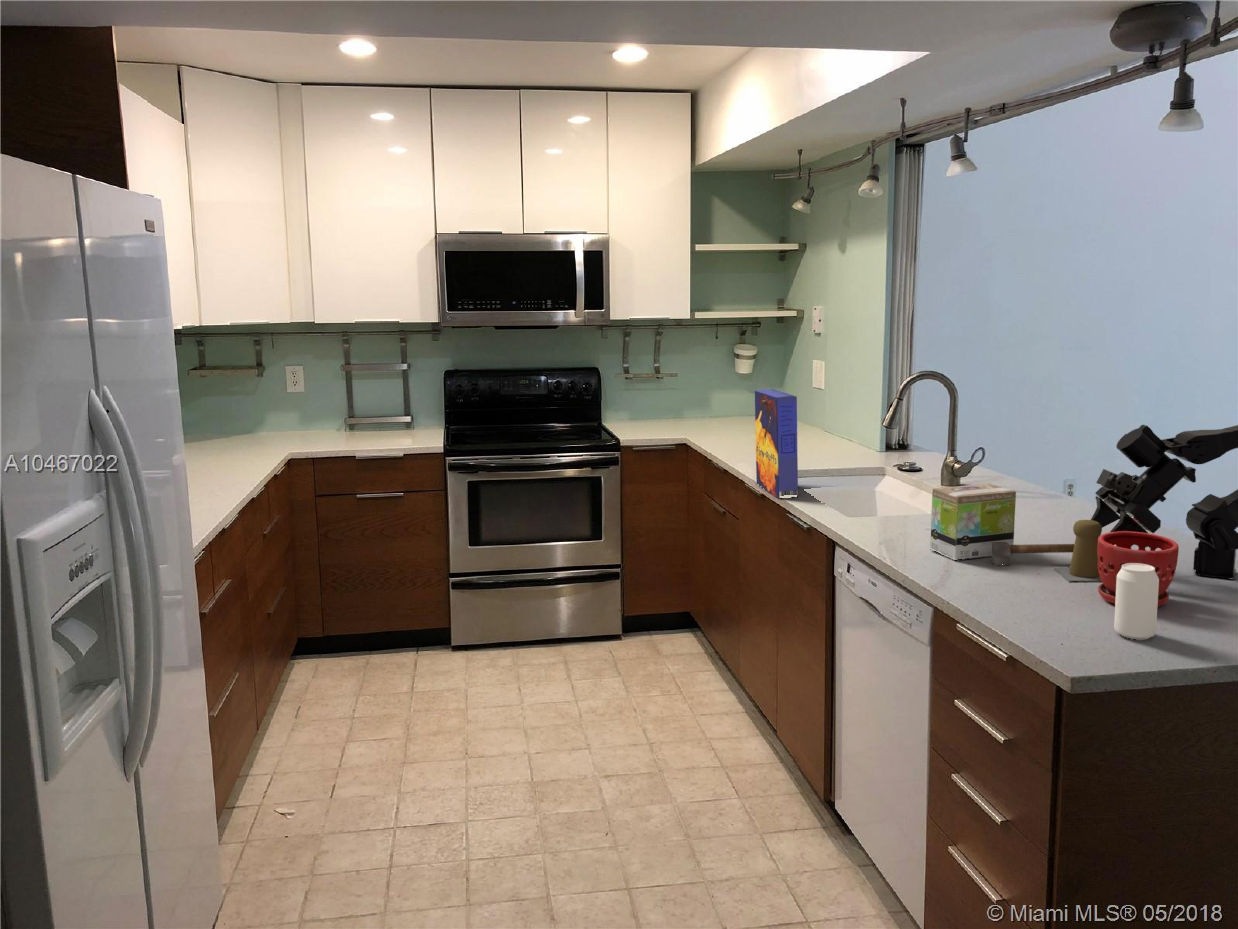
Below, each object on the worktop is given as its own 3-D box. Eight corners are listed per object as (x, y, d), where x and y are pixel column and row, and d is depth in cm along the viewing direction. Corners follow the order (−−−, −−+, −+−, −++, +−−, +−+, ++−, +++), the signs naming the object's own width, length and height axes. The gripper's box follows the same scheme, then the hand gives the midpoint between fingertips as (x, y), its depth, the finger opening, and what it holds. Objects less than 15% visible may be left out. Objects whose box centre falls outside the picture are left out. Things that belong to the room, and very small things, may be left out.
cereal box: (756, 485, 295) (754, 389, 289) (774, 483, 296) (773, 388, 290) (778, 499, 273) (776, 396, 268) (798, 497, 274) (796, 395, 269)
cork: (1083, 579, 188) (1086, 525, 186) (1062, 571, 194) (1064, 519, 192) (1108, 575, 189) (1111, 522, 187) (1087, 567, 195) (1089, 516, 193)
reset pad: (1098, 568, 196) (1098, 566, 195) (1116, 581, 187) (1116, 579, 187) (1053, 569, 197) (1053, 567, 197) (1068, 582, 188) (1068, 580, 188)
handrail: (1098, 560, 201) (1099, 540, 200) (1103, 564, 198) (1104, 544, 197) (991, 561, 204) (992, 542, 203) (995, 565, 201) (995, 545, 200)
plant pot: (1084, 603, 175) (1087, 541, 173) (1109, 586, 184) (1112, 527, 182) (1162, 618, 166) (1165, 553, 164) (1184, 599, 175) (1188, 537, 173)
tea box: (956, 562, 205) (957, 496, 202) (929, 551, 214) (930, 487, 211) (1015, 554, 208) (1017, 489, 206) (986, 543, 218) (987, 481, 215)
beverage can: (1111, 638, 158) (1115, 569, 156) (1116, 626, 163) (1119, 560, 161) (1153, 644, 155) (1157, 574, 152) (1157, 632, 160) (1161, 564, 158)
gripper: (1106, 448, 196) (1050, 501, 199) (1145, 464, 177) (1082, 523, 181) (1145, 483, 196) (1088, 536, 199) (1188, 503, 178) (1124, 561, 181)
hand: (1094, 538), depth 190 cm, fingers open, 9 cm apart
